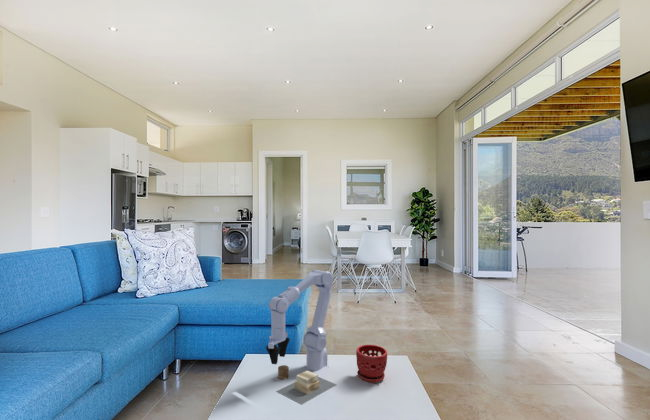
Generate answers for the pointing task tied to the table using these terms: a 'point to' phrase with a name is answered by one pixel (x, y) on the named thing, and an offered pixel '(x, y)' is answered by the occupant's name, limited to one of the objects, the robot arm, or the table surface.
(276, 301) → the robot arm
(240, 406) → the table surface
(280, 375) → the walnut cylinder
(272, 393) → the table surface
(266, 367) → the table surface
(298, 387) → the oak bottom block
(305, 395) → the grey base plate
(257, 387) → the table surface
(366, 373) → the plant pot
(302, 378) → the birch top block
